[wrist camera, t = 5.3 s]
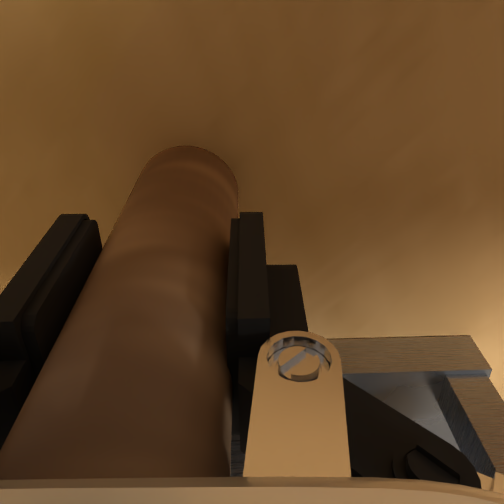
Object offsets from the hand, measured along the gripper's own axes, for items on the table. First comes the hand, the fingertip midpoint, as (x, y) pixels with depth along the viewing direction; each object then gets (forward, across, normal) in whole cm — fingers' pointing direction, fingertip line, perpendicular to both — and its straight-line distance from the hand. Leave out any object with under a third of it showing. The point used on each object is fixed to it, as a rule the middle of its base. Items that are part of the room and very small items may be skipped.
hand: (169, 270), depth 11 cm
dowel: (+5, 0, 0) cm, 5 cm away
